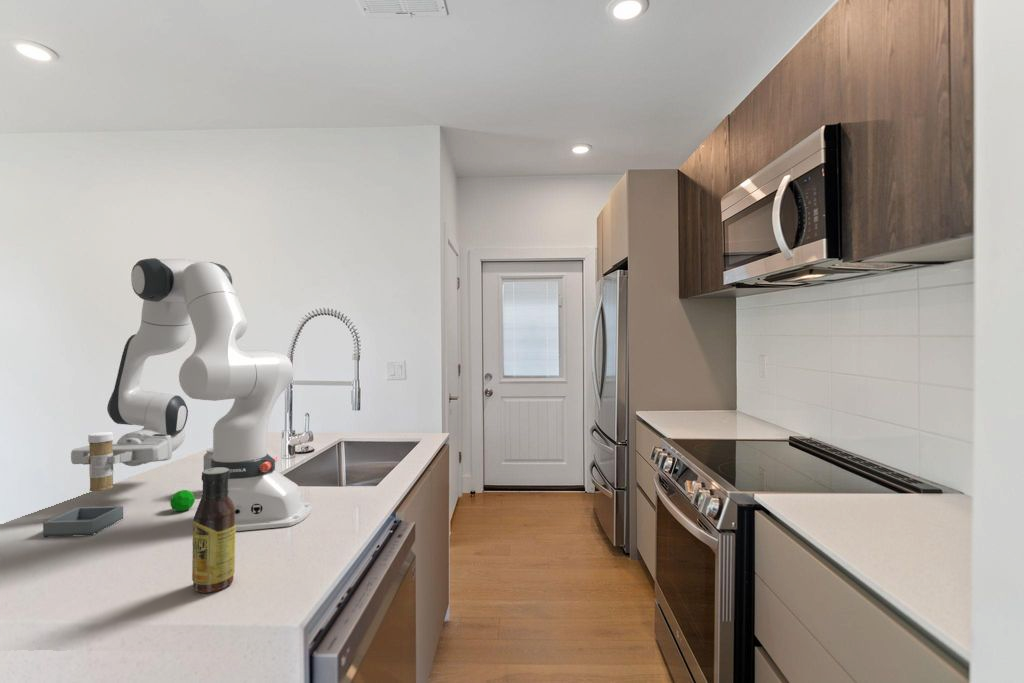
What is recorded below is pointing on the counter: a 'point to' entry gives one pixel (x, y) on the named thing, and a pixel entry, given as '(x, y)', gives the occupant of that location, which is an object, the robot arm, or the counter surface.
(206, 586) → the sauce bottle
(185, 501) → the polyhedron
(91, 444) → the sprinkles bottle
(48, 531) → the bin
